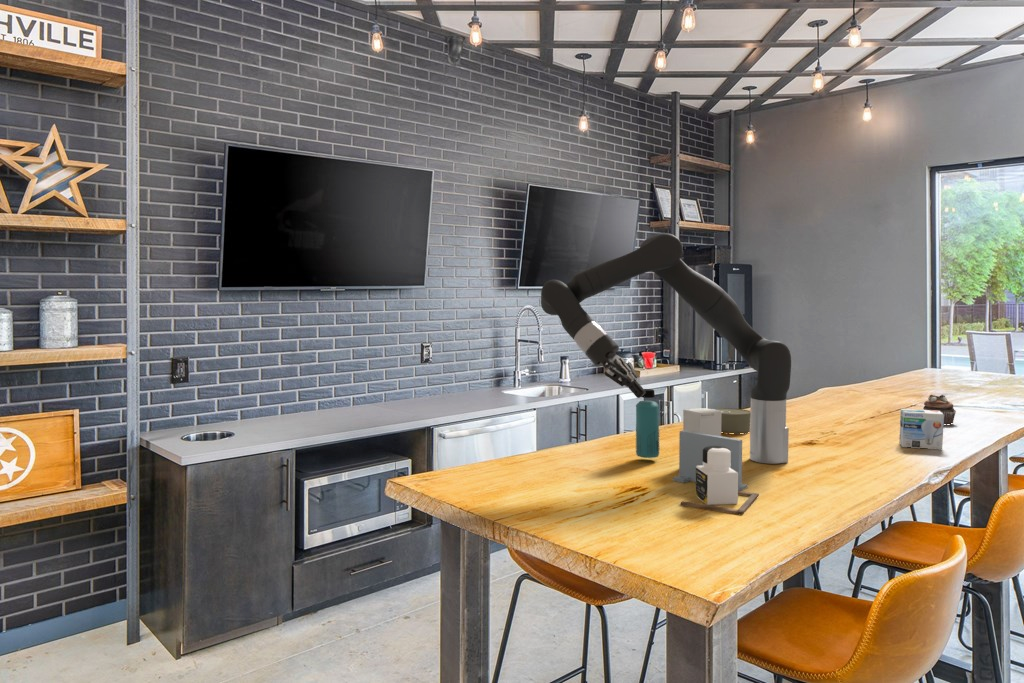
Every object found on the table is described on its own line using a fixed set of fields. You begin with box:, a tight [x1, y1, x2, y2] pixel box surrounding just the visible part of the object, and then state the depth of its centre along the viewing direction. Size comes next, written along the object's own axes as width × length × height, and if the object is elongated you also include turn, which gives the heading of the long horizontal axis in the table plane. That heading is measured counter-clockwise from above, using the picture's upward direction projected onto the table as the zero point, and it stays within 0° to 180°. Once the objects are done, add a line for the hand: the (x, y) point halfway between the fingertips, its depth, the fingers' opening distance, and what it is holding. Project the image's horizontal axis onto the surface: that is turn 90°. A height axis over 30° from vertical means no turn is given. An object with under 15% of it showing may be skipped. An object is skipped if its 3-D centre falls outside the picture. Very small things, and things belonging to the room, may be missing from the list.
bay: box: [679, 490, 760, 516], centre depth 152 cm, size 13×15×1 cm
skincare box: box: [682, 407, 722, 436], centre depth 181 cm, size 8×7×16 cm
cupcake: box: [922, 394, 957, 424], centre depth 240 cm, size 10×10×10 cm
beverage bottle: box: [635, 388, 660, 459], centre depth 189 cm, size 6×7×20 cm
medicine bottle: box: [695, 446, 739, 506], centre depth 152 cm, size 7×7×12 cm
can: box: [714, 408, 750, 434], centre depth 229 cm, size 12×12×7 cm
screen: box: [672, 429, 748, 491], centre depth 165 cm, size 16×7×12 cm, turn 43°
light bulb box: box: [898, 408, 944, 450], centre depth 204 cm, size 11×7×11 cm, turn 68°
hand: (642, 395), depth 165 cm, fingers closed
